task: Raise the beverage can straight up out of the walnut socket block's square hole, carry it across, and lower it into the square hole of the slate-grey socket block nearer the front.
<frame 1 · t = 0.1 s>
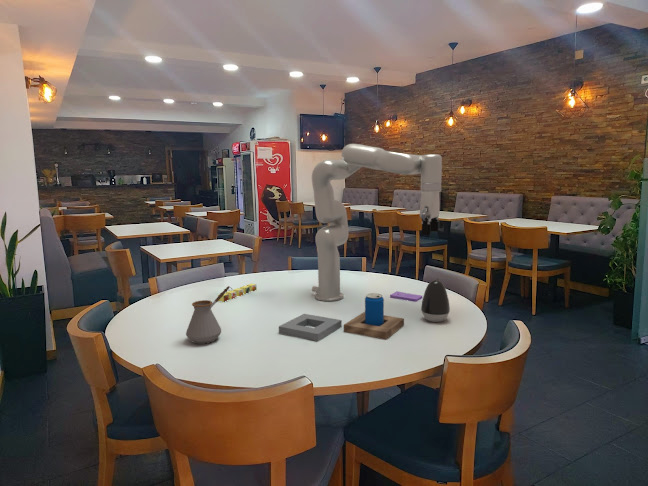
hand: (430, 233, 172), 31 cm above the table, tool pointing down, fingers open, 9 cm apart
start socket: (374, 328, 160), on the table
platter: (242, 297, 206), on the table
beverage can: (374, 328, 160), resting in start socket
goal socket: (310, 329, 159), on the table
black rounded egg shape: (435, 320, 168), on the table
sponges: (406, 299, 198), on the table
coffee pot: (213, 335, 156), on the table
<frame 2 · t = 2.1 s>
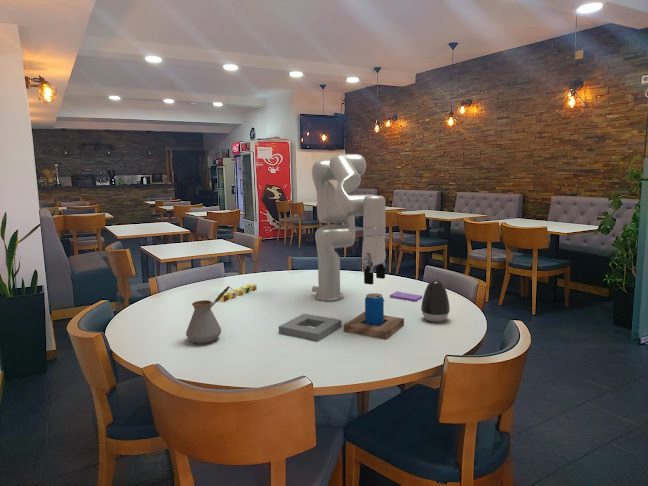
hand: (374, 281, 157), 17 cm above the table, tool pointing down, fingers open, 9 cm apart
nothing on the table moved.
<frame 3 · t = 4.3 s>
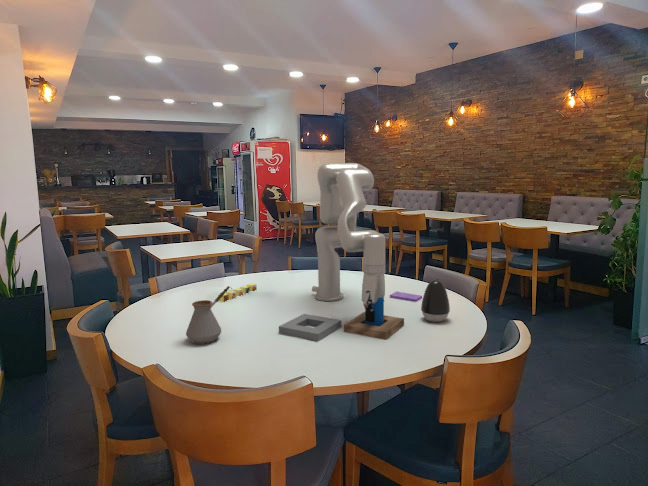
hand: (374, 318, 159), 4 cm above the table, tool pointing down, fingers closed on beverage can, 6 cm apart
beverage can: (374, 328, 160), resting in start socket, touching gripper
everything else where it was.
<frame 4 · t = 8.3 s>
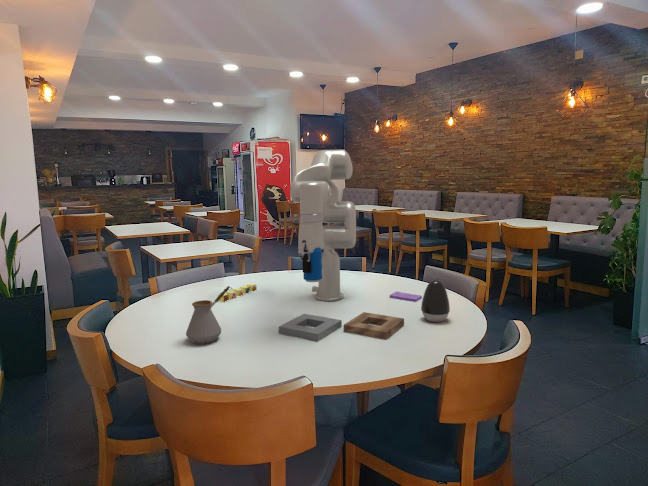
hand: (312, 270, 156), 21 cm above the table, tool pointing down, fingers closed on beverage can, 6 cm apart
beverage can: (313, 281, 157), point 18 cm above the table, touching gripper
everything else where it was.
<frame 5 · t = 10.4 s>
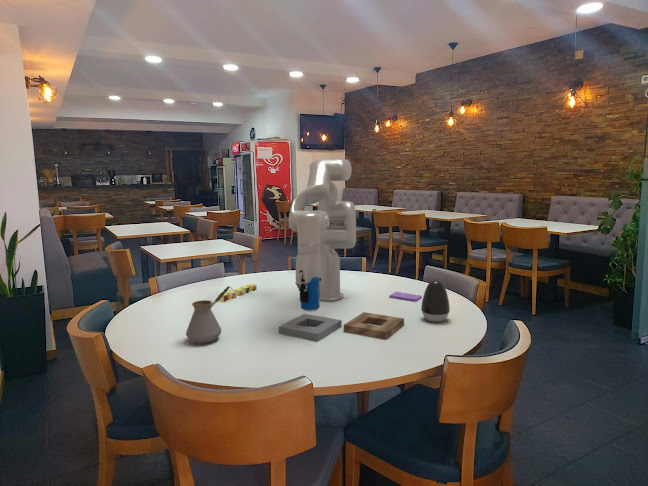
hand: (310, 299, 157), 11 cm above the table, tool pointing down, fingers closed on beverage can, 6 cm apart
beverage can: (310, 309, 158), point 7 cm above the table, touching gripper
everything else where it was.
when the fingers open (5 cm above the table, at t = 12.4 s): beverage can drops 2 cm, resting in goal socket.
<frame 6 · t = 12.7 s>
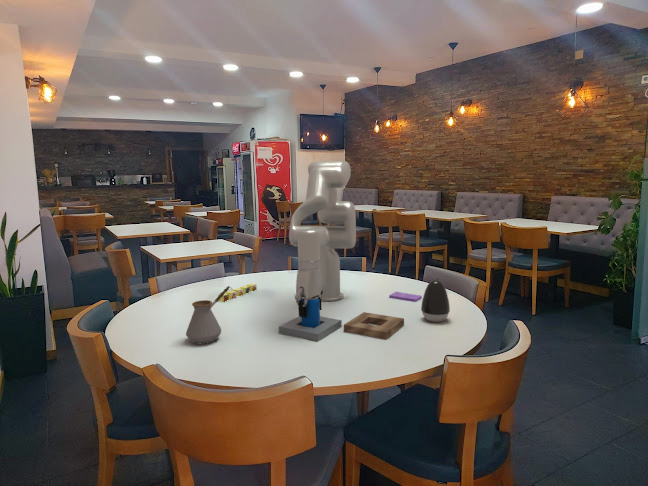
hand: (310, 313, 158), 6 cm above the table, tool pointing down, fingers open, 8 cm apart
beverage can: (310, 330, 160), resting in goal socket
everything else where it was.
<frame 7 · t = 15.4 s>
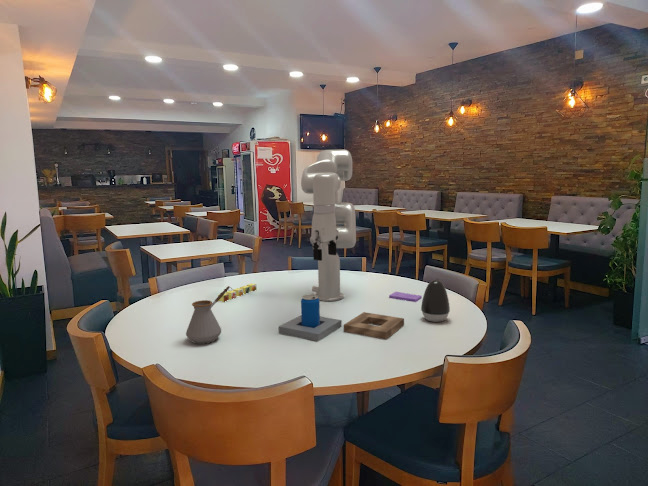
hand: (325, 257, 161), 25 cm above the table, tool pointing down, fingers open, 9 cm apart
nothing on the table moved.
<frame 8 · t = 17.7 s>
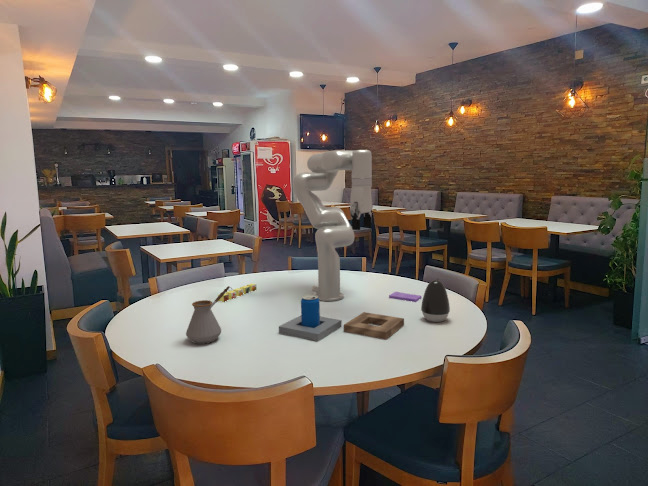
hand: (361, 228, 173), 33 cm above the table, tool pointing down, fingers open, 9 cm apart
nothing on the table moved.
at the end: beverage can 0.2 cm off-centre on the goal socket, point 0.0 cm above the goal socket's base; beverage can tilted 0°; the gripper is holding nothing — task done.
